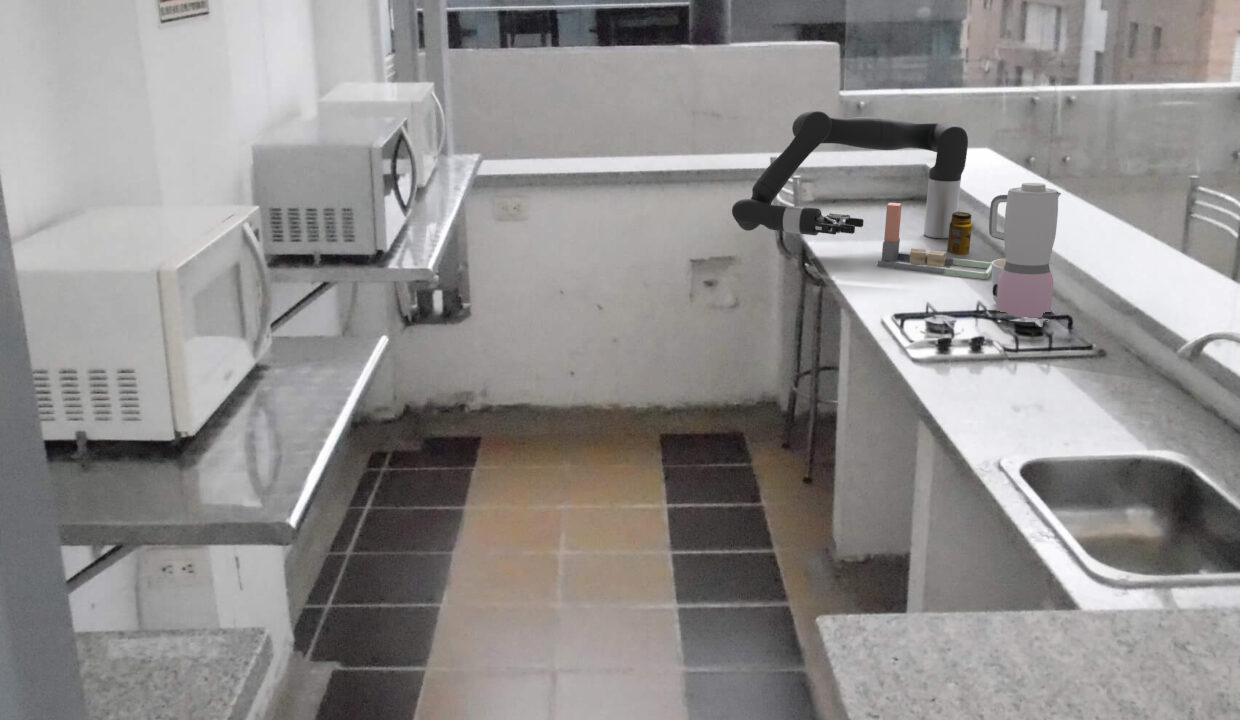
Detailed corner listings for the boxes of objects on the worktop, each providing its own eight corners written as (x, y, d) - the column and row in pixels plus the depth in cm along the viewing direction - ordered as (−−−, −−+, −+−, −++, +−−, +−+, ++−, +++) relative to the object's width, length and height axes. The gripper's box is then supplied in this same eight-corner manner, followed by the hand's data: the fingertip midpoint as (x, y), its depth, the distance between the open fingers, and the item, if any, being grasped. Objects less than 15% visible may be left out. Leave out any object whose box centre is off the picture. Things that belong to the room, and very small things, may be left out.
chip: (929, 264, 322) (931, 250, 320) (944, 266, 320) (946, 251, 319) (926, 268, 318) (927, 253, 317) (941, 269, 317) (943, 255, 315)
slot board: (887, 259, 331) (888, 250, 330) (952, 267, 323) (953, 258, 322) (876, 269, 320) (877, 260, 320) (943, 277, 313) (944, 268, 312)
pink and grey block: (886, 258, 328) (891, 201, 322) (898, 259, 326) (903, 202, 321) (880, 263, 322) (885, 205, 317) (892, 265, 321) (897, 207, 315)
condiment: (975, 256, 334) (979, 214, 330) (954, 260, 330) (959, 218, 326) (955, 250, 340) (959, 209, 336) (934, 255, 336) (938, 213, 332)
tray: (952, 267, 323) (953, 258, 322) (994, 271, 319) (995, 262, 318) (943, 277, 313) (944, 268, 312) (986, 282, 308) (987, 273, 308)
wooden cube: (909, 262, 324) (911, 248, 322) (925, 263, 322) (926, 249, 321) (909, 266, 320) (910, 251, 319) (924, 267, 319) (925, 253, 318)
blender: (1057, 319, 277) (1070, 182, 269) (1041, 330, 268) (1054, 189, 259) (991, 311, 286) (1001, 178, 278) (973, 321, 277) (983, 184, 268)
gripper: (794, 212, 325) (852, 218, 318) (810, 202, 337) (866, 207, 330) (793, 239, 327) (850, 245, 320) (809, 228, 339) (864, 234, 332)
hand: (858, 226), depth 325 cm, fingers open, 8 cm apart
